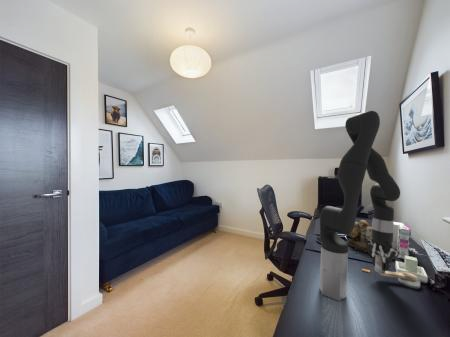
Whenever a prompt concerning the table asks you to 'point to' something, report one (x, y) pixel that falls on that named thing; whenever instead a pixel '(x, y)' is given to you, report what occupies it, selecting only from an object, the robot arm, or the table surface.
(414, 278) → the crank arm
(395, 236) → the supplement box
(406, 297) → the table surface
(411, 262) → the stop block
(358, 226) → the owl figurine
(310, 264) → the table surface
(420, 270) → the tray
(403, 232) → the candy bar box
